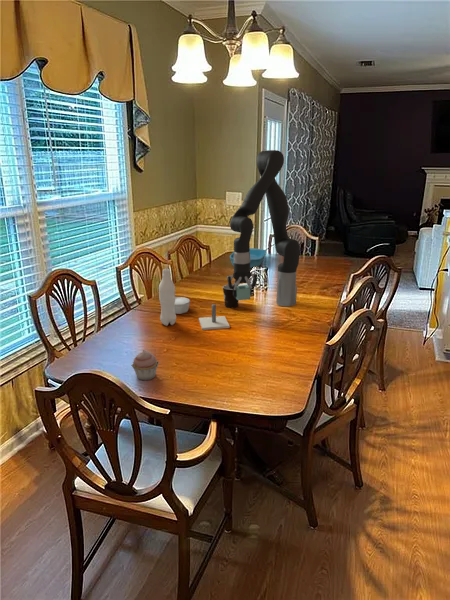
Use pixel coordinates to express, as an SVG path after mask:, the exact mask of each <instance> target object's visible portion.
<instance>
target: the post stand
mask: <svg viewBox="0 0 450 600" xmlns="http://www.w3.org/2000/svg"><path fill="white" fill-rule="evenodd" d="M216 308H217V304H214V303H213V304H211V316H207V317H198V321H199V325H200V327H201V330H202V331H205V330H207V331H209V330H220V329H230V328H231V327H230V324H229V322H228V320H227V318H226V316H225V315H223V316H221V315H220V316H217V310H216Z"/></svg>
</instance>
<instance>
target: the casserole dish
mask: <svg viewBox="0 0 450 600" xmlns="http://www.w3.org/2000/svg"><path fill="white" fill-rule="evenodd" d="M266 254H267V250H266V249H262V248H256V247H255V248H254V247H253V248H252V247H250V259H251V260H250V269H253V268H252V267H254V266H255V267H256V266H258V267H260V265H262V263H263V261H264V260H265V257H266ZM229 259H230V262H231V264H232V266H233V267H234V251H232V253H231V254H230V255H229Z"/></svg>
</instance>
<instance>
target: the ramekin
mask: <svg viewBox="0 0 450 600" xmlns="http://www.w3.org/2000/svg"><path fill="white" fill-rule="evenodd" d="M175 299H176V300H175V304H174V309H175V314H176V315H177V314H178V315H179V314H181V315H182V314H186V313H188V311H189V310H190V309H189V308H190V303H191V300H190V299H189V298H187V297H184V296H183V297H182V296H175Z"/></svg>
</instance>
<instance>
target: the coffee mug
mask: <svg viewBox="0 0 450 600" xmlns="http://www.w3.org/2000/svg"><path fill="white" fill-rule="evenodd" d="M233 285H234V283H232V286H233ZM238 286H240V284H239V285H238ZM222 291H223V299H224V306H225V308H227V309H237V308H238V307H239V301H240V300H237V299H236V298H235V297H234V296H233V289H230V288H229V286H228V284H225V285H222Z"/></svg>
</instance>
